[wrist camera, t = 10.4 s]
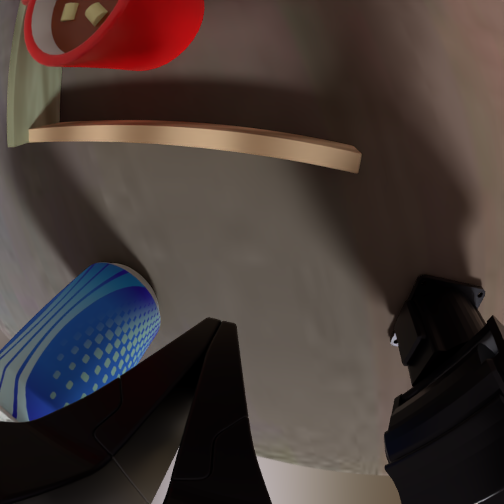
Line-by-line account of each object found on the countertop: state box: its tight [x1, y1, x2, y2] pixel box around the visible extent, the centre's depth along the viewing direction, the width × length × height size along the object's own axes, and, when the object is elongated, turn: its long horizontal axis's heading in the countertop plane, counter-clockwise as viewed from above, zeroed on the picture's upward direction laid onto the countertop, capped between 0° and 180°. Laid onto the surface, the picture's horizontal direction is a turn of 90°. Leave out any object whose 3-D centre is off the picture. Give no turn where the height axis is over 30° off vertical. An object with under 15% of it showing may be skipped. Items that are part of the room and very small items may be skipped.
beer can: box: [0, 262, 160, 422], centre depth 18 cm, size 8×8×16 cm
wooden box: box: [7, 1, 362, 174], centre depth 12 cm, size 23×18×5 cm
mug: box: [21, 0, 204, 71], centre depth 11 cm, size 8×12×8 cm, turn 66°
